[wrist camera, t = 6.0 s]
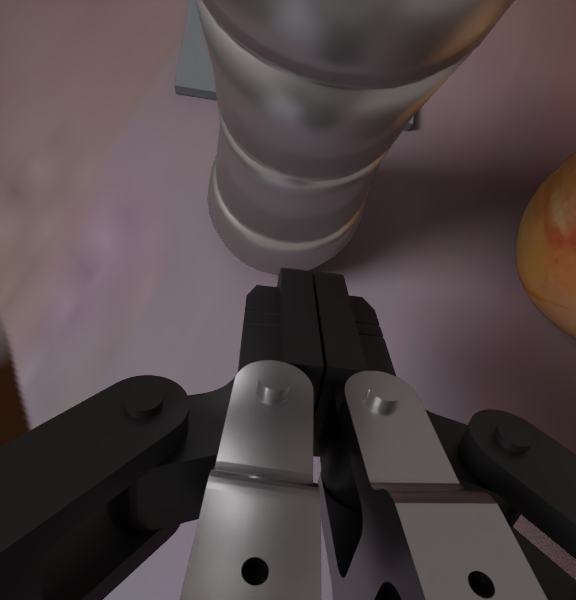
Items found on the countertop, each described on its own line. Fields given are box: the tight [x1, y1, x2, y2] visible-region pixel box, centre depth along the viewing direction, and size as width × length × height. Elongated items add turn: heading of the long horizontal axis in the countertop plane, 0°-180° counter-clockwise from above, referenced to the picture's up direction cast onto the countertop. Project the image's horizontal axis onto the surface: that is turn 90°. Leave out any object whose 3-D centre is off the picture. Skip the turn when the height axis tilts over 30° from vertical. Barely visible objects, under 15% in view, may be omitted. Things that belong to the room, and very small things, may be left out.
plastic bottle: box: [195, 0, 515, 274], centre depth 13 cm, size 6×7×20 cm
